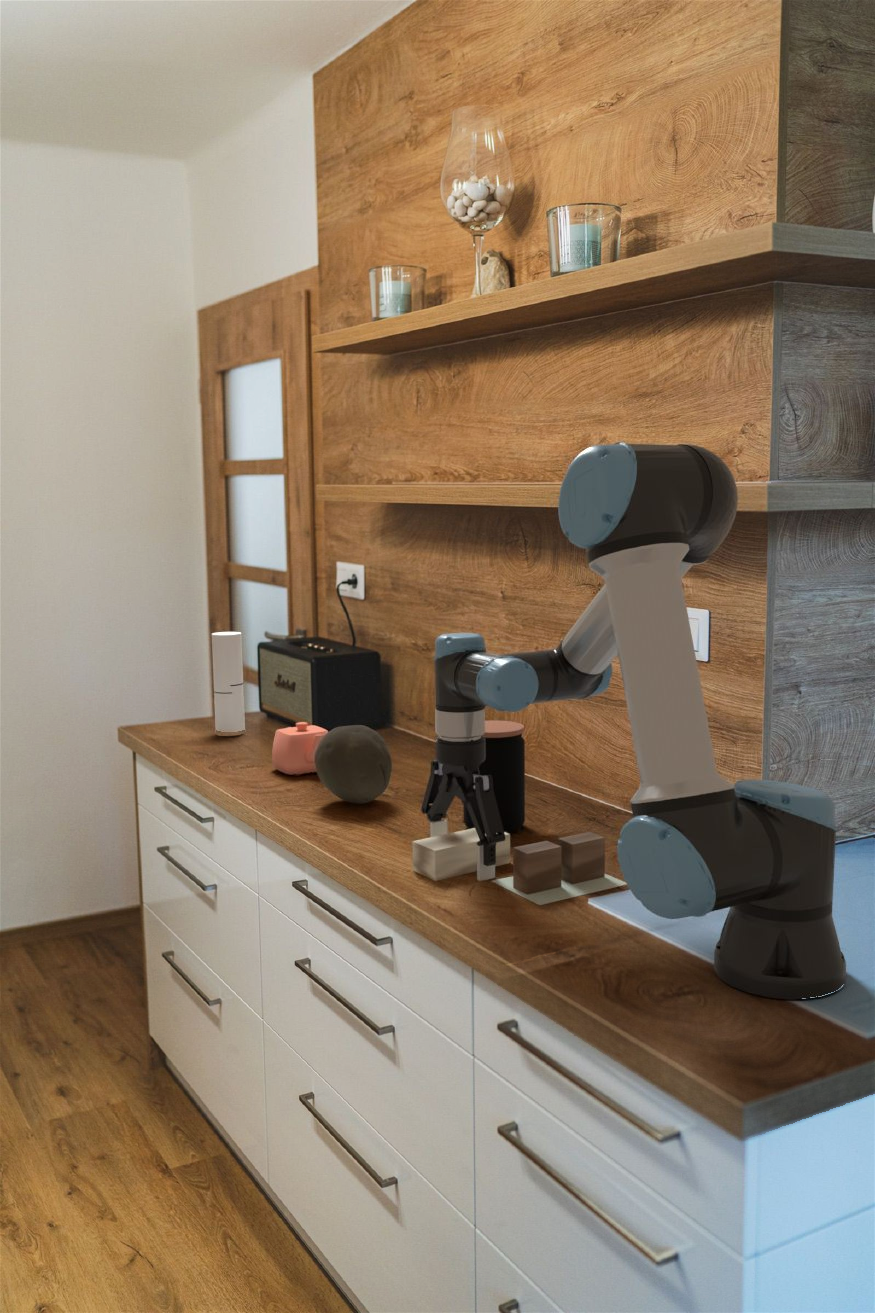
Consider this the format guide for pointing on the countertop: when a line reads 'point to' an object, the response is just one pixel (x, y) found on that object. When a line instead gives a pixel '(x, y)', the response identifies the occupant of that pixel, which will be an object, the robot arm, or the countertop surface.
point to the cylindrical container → (228, 681)
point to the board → (564, 889)
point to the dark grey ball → (354, 763)
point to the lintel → (453, 854)
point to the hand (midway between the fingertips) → (461, 873)
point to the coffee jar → (504, 772)
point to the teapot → (296, 748)
